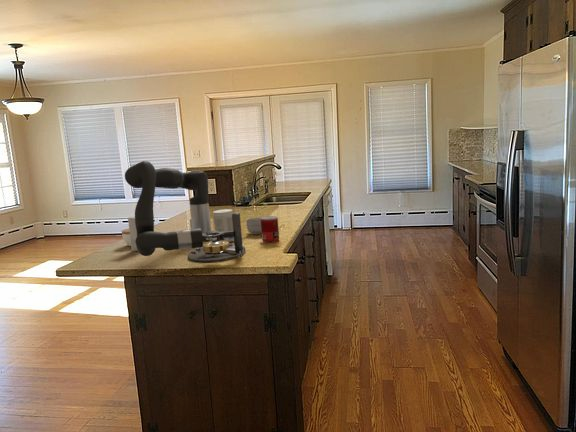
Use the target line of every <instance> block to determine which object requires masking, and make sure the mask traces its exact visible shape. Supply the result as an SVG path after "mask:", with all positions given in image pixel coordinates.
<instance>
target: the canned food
mask: <svg viewBox="0 0 576 432" xmlns="http://www.w3.org/2000/svg"><path fill="white" fill-rule="evenodd" d="M261 217H262V218H261V231H262V234H261V240H262V242H263V243H268V242H269V243H277V242H279V240H280V233H279V218H278V216H276V215H275V216H274V215H267V216H261Z"/></svg>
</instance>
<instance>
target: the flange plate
mask: <svg viewBox="0 0 576 432" xmlns="http://www.w3.org/2000/svg"><path fill="white" fill-rule="evenodd" d="M218 245H222V242H214V243H213V242H212V243H210V246H218ZM229 248H232V249H235V245H234V243H233V244H232V243H229ZM243 250H244V252H243V253H239V254H236V253H235V252H227V251H224V252H221V251H220V252H218V253H213V252H211V253H206V252H203V247H200V248H193V249H192V250H190V251H189V252H188V253H187V259H188V260H189V261H192V262H198V263H213V262H223V261H228V260H233V259H236V258H239V256H240V257H241V255H242V256H243V255H245V253H246V247H245V246H243Z"/></svg>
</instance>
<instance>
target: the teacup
mask: <svg viewBox="0 0 576 432" xmlns="http://www.w3.org/2000/svg"><path fill="white" fill-rule="evenodd" d="M262 217H263V216H259V217H257V216H256V217H250V218H246V219H245V220H246V221H245V222H246V229H247V231H248V233H249V234H251V235H262V231H261V218H262Z"/></svg>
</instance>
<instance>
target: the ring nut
mask: <svg viewBox="0 0 576 432" xmlns="http://www.w3.org/2000/svg"><path fill="white" fill-rule="evenodd" d="M232 222H233V232H234V241H233V242H234V243H233V244H234V245H235V249H232V248H229V244H230V242H228V241H221V242H222V245H218V246H210V243H212V242H210V243H208V242H205V243H203V252H206V253H211V252H213V253H218V252H220V251H221V252H224V251H227V252H235V253H236V254H239V253H243V252H244V250H243V245H244V244H243V235H242V225H241V224H242V223H241V213H240V212H233V214H232ZM217 242H220V241H217Z"/></svg>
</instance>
